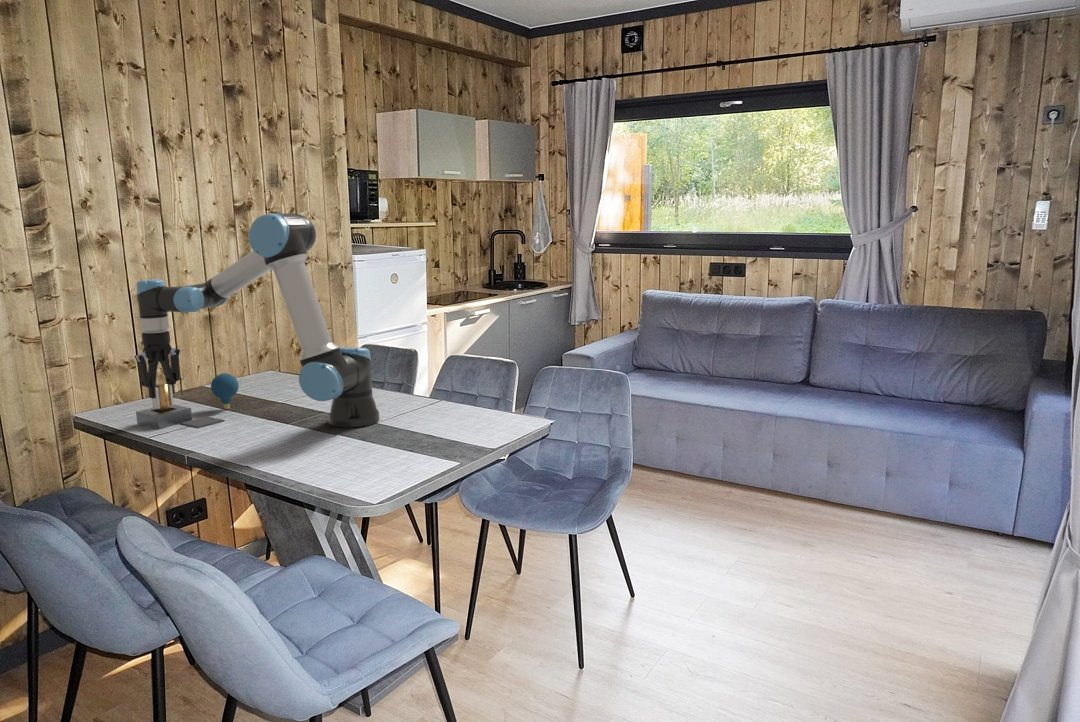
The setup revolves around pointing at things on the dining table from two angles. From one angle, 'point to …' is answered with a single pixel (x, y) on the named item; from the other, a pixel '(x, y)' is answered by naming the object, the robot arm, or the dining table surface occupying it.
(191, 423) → the mat
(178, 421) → the block
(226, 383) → the light bulb
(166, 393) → the golden cylinder
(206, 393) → the dining table surface
